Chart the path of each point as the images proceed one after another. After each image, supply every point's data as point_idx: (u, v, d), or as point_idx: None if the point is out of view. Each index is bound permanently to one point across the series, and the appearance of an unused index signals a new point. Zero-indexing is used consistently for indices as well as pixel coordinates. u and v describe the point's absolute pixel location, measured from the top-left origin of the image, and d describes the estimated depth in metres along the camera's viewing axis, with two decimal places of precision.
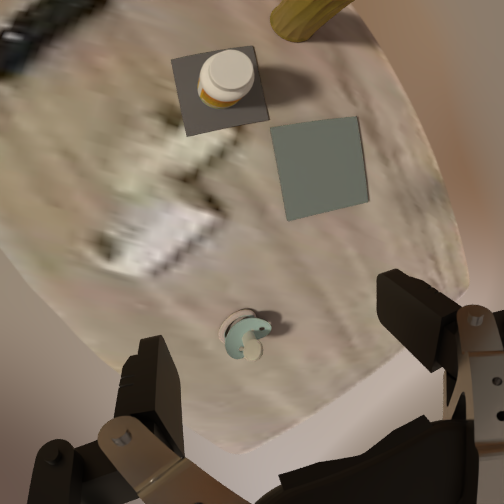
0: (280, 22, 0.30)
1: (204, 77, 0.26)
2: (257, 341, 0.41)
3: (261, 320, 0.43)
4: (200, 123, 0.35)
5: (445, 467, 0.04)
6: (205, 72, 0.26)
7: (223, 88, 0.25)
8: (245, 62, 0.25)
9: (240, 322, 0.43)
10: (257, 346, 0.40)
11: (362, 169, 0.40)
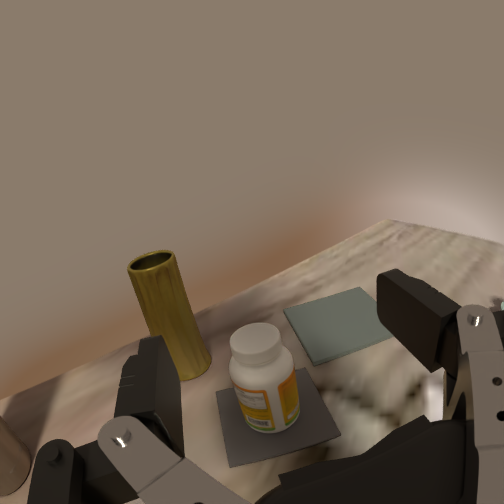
0: (189, 360, 0.33)
1: (264, 376, 0.23)
2: None
3: None
4: (321, 424, 0.25)
5: (445, 467, 0.04)
6: (256, 376, 0.23)
7: (279, 342, 0.23)
8: (245, 328, 0.25)
9: None
10: None
11: (332, 296, 0.44)
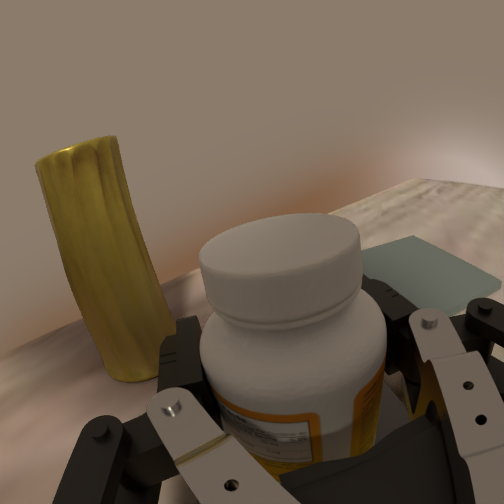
0: (138, 343, 0.17)
1: (316, 364, 0.06)
2: None
3: None
4: None
5: (445, 467, 0.04)
6: (290, 367, 0.06)
7: (360, 246, 0.07)
8: (249, 226, 0.09)
9: None
10: None
11: (377, 247, 0.28)
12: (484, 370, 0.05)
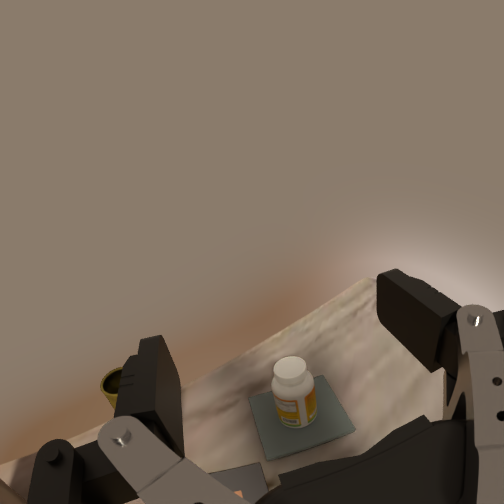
0: None
1: (296, 391, 0.35)
2: None
3: None
4: None
5: (445, 467, 0.04)
6: (291, 391, 0.35)
7: (306, 369, 0.35)
8: (283, 360, 0.37)
9: None
10: None
11: None
12: None
